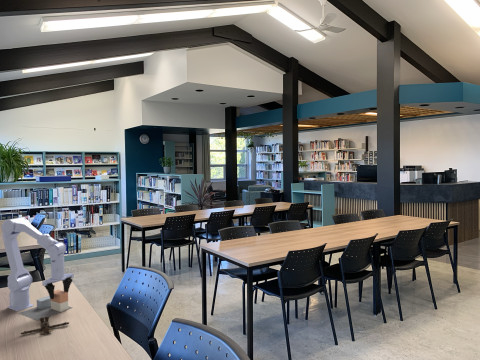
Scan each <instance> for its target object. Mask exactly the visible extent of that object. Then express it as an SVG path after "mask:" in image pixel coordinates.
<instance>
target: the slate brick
mask: <svg viewBox="0 0 480 360" xmlns="http://www.w3.org/2000/svg"><path fill="white" fill-rule="evenodd" d="M50 306H51V299H50V296H49V295H47V296H45V297H41V298H39V299H36V307H37V308H38V309H41V310H42V309H45V308H47V307H50Z"/></svg>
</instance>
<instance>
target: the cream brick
mask: <svg viewBox="0 0 480 360" xmlns="http://www.w3.org/2000/svg"><path fill="white" fill-rule="evenodd" d="M68 306H69V300H68V301H66V302H63V303H57V302H54V301H51V309H54V310H56V311H59V312H60V313H63V312H65V311H64V310H66V311H68V310H67V309H68ZM62 311H63V312H62Z"/></svg>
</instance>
